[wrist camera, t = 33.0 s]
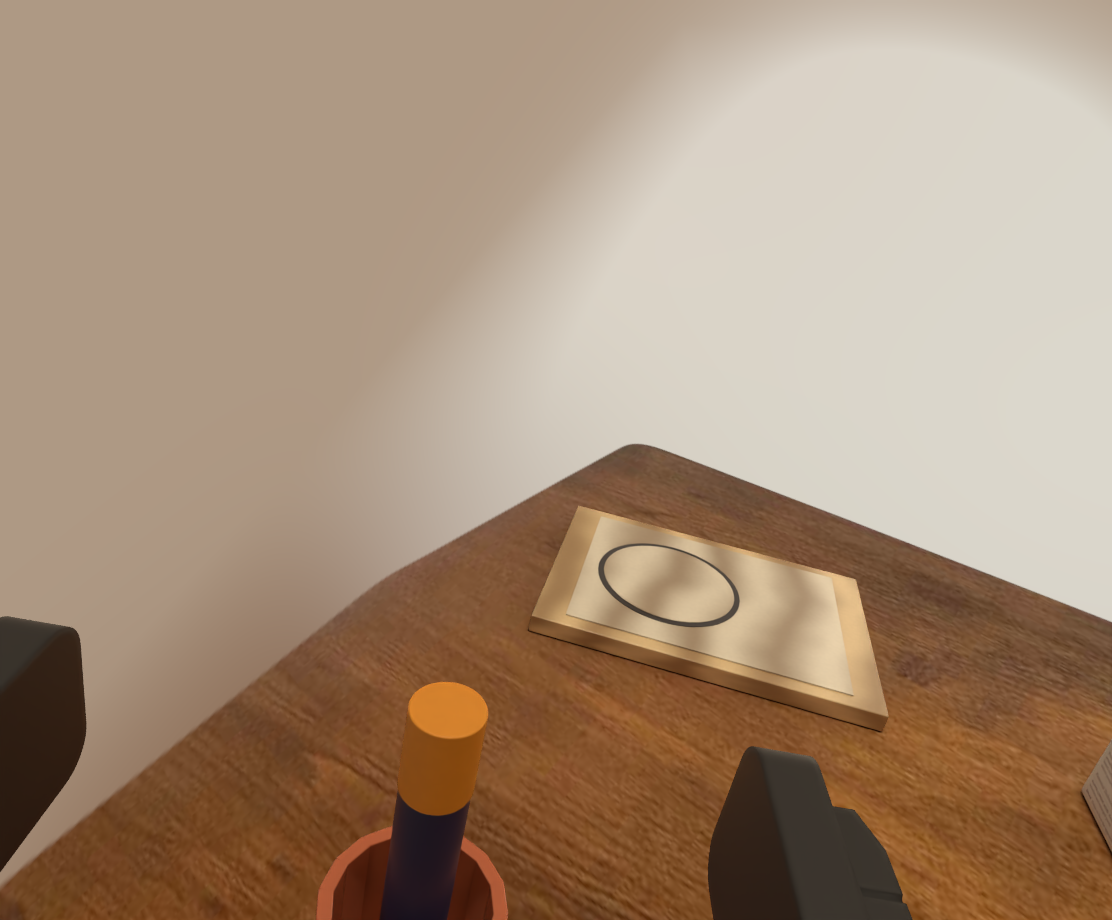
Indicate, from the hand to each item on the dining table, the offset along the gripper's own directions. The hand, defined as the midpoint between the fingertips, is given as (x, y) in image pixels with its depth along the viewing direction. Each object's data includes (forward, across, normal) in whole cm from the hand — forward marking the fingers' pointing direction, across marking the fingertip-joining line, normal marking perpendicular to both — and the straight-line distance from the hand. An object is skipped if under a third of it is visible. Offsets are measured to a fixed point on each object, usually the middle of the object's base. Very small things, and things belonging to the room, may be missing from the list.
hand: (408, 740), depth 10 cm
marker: (+11, 0, +23) cm, 26 cm away
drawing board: (+40, -16, +24) cm, 50 cm away
